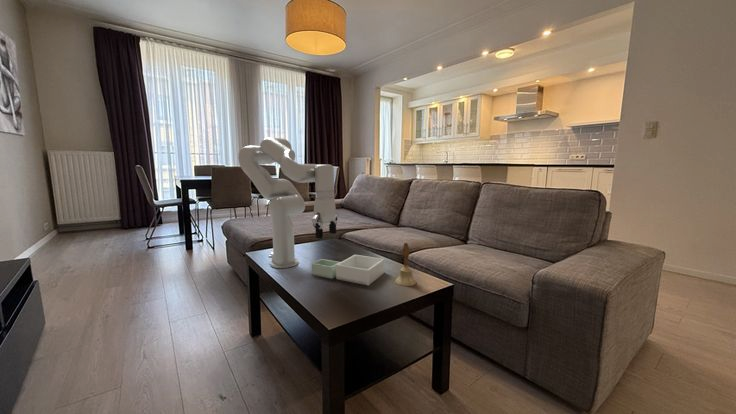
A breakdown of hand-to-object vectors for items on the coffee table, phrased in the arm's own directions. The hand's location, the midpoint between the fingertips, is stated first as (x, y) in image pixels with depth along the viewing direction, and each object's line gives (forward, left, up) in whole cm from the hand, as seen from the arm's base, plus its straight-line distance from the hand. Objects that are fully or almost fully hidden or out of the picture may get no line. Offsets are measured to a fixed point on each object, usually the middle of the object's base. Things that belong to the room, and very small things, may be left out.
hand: (326, 235), depth 126 cm
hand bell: (+33, +7, -17) cm, 37 cm away
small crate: (0, 0, -17) cm, 17 cm away
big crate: (+14, +5, -17) cm, 22 cm away
